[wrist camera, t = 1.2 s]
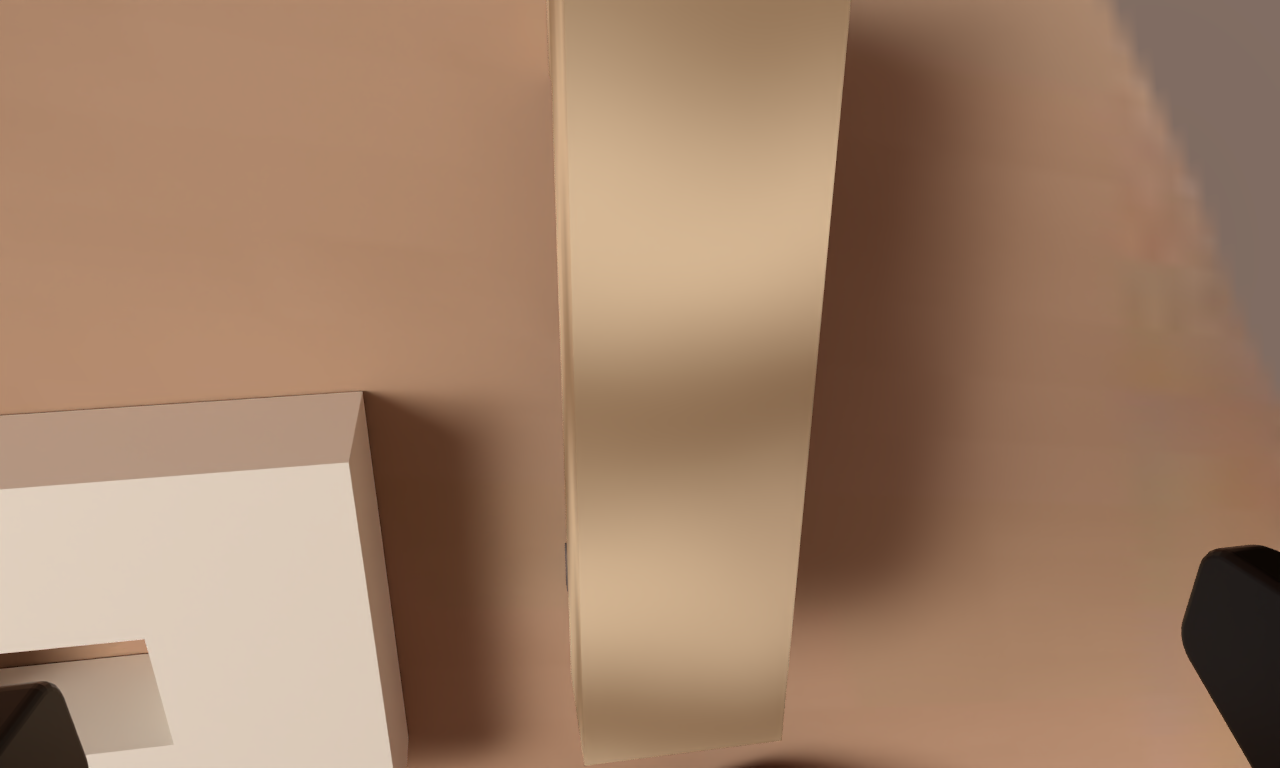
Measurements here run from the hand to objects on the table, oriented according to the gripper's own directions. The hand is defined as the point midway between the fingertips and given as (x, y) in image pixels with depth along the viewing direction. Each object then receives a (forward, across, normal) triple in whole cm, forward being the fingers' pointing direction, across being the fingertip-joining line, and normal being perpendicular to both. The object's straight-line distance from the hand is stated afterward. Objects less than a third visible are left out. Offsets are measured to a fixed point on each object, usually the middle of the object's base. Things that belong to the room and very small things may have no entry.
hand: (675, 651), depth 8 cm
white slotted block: (+13, +11, +9) cm, 20 cm away
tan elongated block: (+14, -2, +3) cm, 14 cm away
